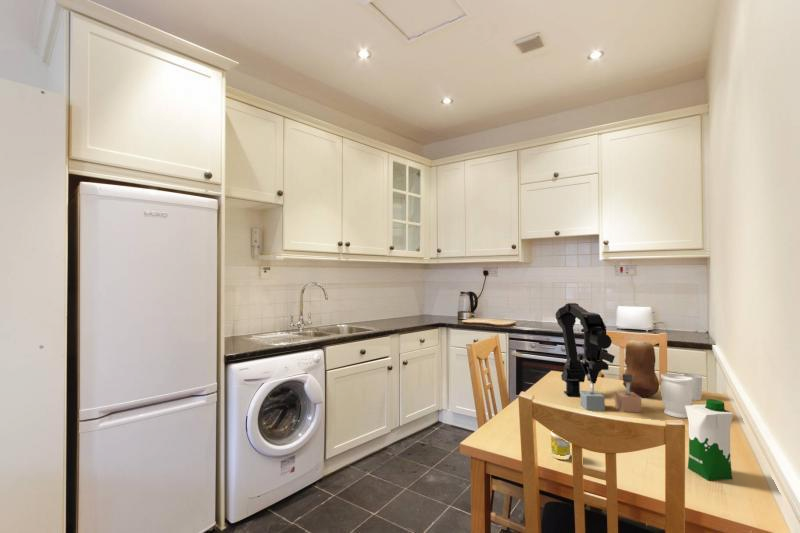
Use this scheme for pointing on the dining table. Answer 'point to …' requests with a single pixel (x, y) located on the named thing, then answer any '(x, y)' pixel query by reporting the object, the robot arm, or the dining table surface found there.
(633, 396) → the pink block with hole
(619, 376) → the dining table surface
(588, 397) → the slate bottle
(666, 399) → the jar
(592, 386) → the slate pump
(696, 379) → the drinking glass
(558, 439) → the supplement bottle
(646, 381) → the butternut squash
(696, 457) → the milk carton
